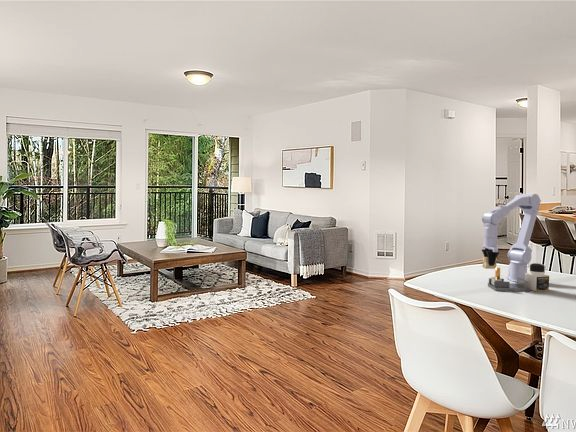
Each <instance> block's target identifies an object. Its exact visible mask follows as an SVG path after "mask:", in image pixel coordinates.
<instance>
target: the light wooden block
mask: <svg viewBox="0 0 576 432" xmlns="http://www.w3.org/2000/svg"><path fill="white" fill-rule="evenodd" d="M482 268H484V269H487V270H488V269H489V270H490V269H492V270H495V269H496V268H497V258H496V260H495V264H494V266H489V263H488V257H484V256H483V257H482Z"/></svg>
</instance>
